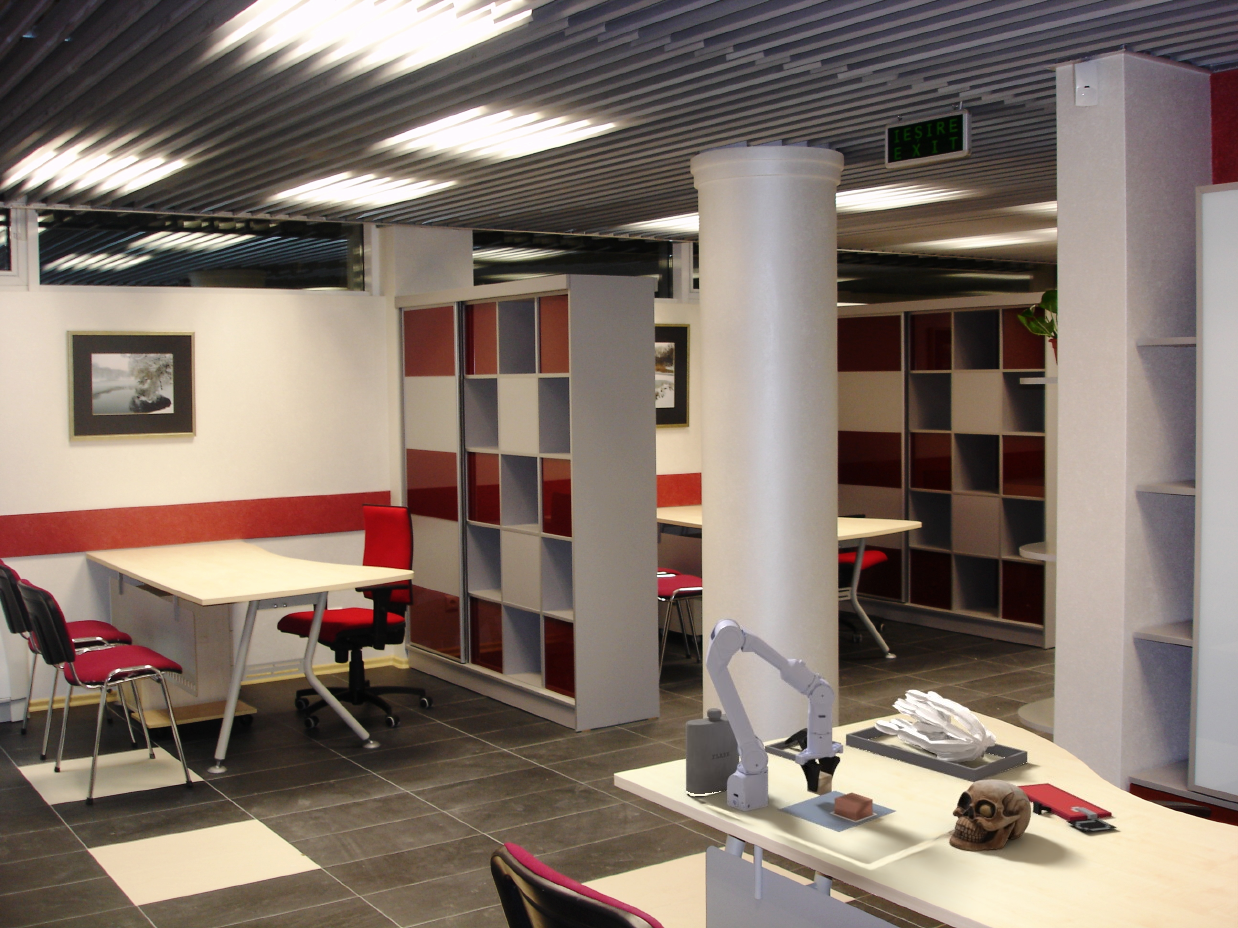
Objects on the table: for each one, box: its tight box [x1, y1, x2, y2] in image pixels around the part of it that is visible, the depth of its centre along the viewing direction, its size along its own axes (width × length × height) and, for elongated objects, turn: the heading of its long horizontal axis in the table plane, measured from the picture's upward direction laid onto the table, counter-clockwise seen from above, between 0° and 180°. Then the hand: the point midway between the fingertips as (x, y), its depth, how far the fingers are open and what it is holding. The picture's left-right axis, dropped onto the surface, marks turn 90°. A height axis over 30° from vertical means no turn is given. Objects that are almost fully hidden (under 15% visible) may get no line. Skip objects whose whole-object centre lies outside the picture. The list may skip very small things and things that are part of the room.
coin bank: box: [948, 779, 1032, 852], centre depth 252 cm, size 16×17×13 cm
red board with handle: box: [1016, 782, 1118, 832], centre depth 270 cm, size 30×3×15 cm
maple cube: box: [806, 771, 833, 796], centre depth 272 cm, size 4×4×4 cm
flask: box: [685, 707, 740, 794], centre depth 283 cm, size 15×6×20 cm, turn 122°
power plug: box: [785, 727, 808, 752], centre depth 316 cm, size 6×8×12 cm
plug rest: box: [764, 739, 842, 761], centre depth 316 cm, size 18×12×2 cm, turn 129°
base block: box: [835, 792, 874, 821], centre depth 265 cm, size 6×6×4 cm
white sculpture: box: [874, 689, 997, 764], centre depth 312 cm, size 17×18×35 cm
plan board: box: [777, 790, 896, 833], centre depth 267 cm, size 20×18×1 cm
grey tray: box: [845, 720, 1028, 783], centre depth 312 cm, size 24×41×3 cm, turn 39°
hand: (819, 788), depth 272 cm, fingers closed on maple cube, 4 cm apart
